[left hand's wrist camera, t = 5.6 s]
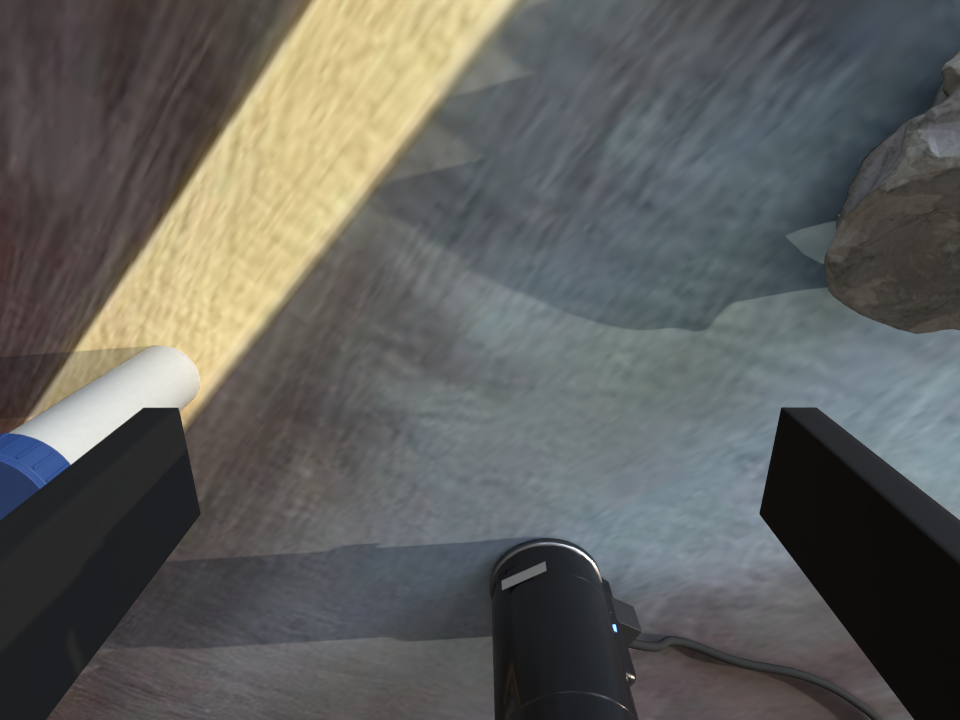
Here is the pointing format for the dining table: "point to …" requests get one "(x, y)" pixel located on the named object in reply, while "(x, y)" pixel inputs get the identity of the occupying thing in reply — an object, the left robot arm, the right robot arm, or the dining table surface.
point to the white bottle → (115, 400)
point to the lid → (25, 469)
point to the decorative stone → (905, 223)
